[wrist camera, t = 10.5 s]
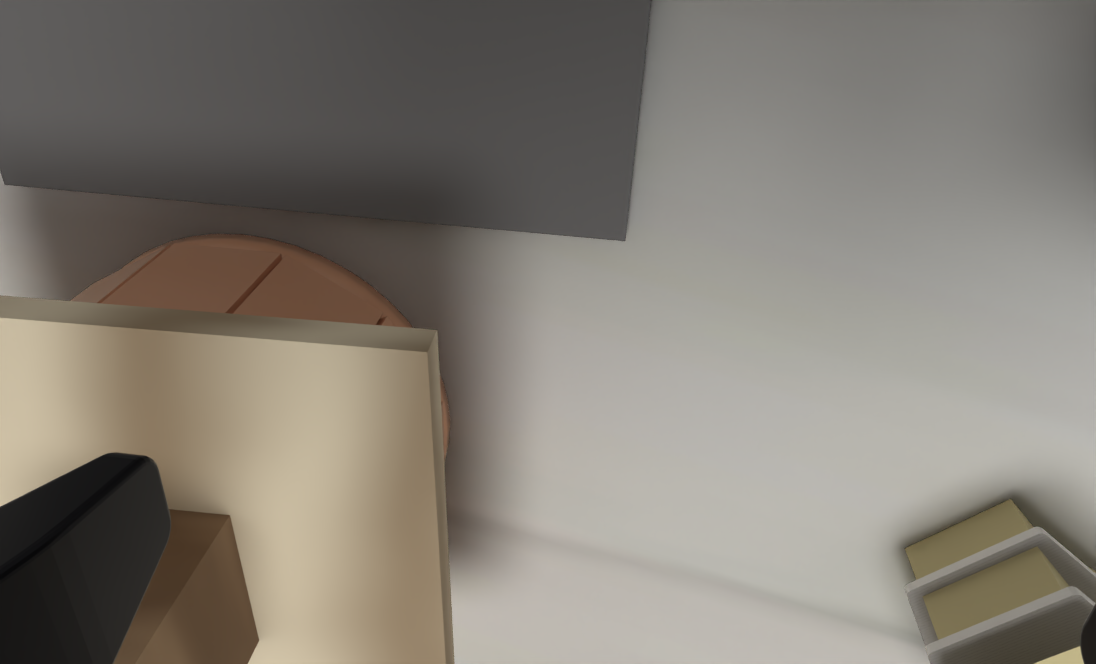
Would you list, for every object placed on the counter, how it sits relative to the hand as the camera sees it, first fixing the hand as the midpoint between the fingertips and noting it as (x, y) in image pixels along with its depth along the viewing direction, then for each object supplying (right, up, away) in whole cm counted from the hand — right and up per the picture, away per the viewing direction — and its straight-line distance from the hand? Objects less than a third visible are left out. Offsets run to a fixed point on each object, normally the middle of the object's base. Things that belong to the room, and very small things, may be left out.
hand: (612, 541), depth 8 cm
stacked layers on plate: (+13, -6, +17) cm, 23 cm away
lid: (-9, -3, +11) cm, 15 cm away
